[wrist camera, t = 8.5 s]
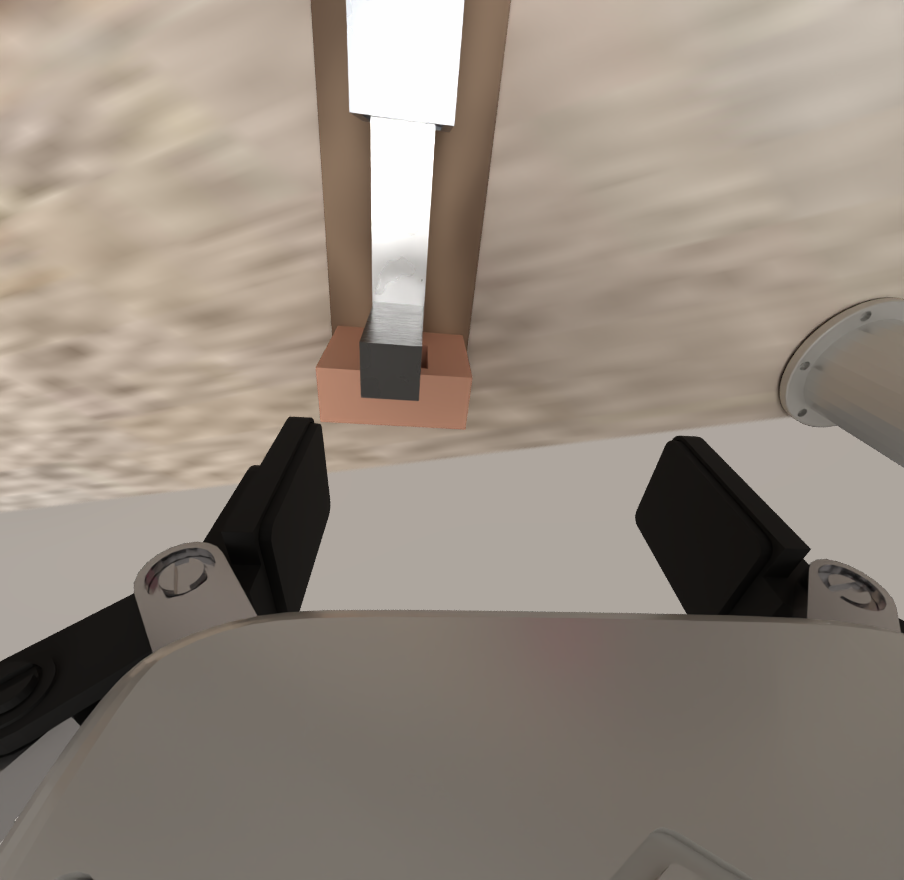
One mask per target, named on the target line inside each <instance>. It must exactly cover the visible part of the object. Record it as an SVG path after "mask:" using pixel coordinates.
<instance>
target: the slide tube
mask: <svg viewBox="0 0 904 880" xmlns="http://www.w3.org/2000/svg"><path fill="white" fill-rule="evenodd" d="M434 138H435V124H430V123H422V122H414V121H407V120H399V119H391V118H384V117H376V116H371V204H372V308H371V311H370V314H369V317H368V319H367V322H366V325H365V328H364V330H363V333H362V336H361V339H360V342H359V348H360V386H361V398H375V399H392V400H408V401H419V392H420V375H421V359H422V335H423V318H424V302H425V285H426V269H427V253H428V236H429V220H430V204H431V187H432V171H433V155H434Z"/></svg>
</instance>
